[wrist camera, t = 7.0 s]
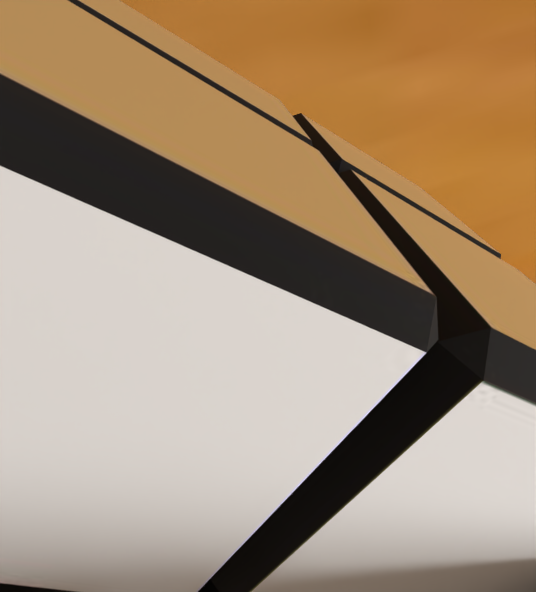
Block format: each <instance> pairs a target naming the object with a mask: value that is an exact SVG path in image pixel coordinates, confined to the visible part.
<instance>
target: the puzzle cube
mask: <svg viewBox="0 0 536 592" xmlns="http://www.w3.org/2000/svg"><path fill="white" fill-rule="evenodd" d="M0 592H536V284H535V283H533V282H532V281H531V280H530V279H529V278H527V277H526V276H525V275H524V274H523V273H521V272H520V271H519V270H518V269H516V268H514V267H513V266H511V265H509V264H508V263H506V262H504V261H503V260H501V254H500V253H499V252H498V251H496V250H495V249H494V248H493V247H492V246H490V245H489V244H488V243H487V242H486V241H484V240H483V239H482V238H481V237H480V236H478V235H477V234H476V233H475V232H473V231H472V230H471V229H470V228H469V227H467V226H466V225H465V224H464V223H463V222H461V221H460V220H459V219H458V218H457V217H455V216H454V215H453V214H452V213H450V212H449V211H448V210H447V209H446V208H444V207H443V206H442V205H441V204H440V203H438V202H437V201H436V200H435V199H434V198H432V197H431V196H430V195H429V194H427V193H426V192H425V191H424V190H423V189H421V188H420V187H419V186H417V185H416V184H414V183H412V182H411V181H409V180H408V179H406V178H404V177H403V176H401V175H400V174H398V173H396V172H395V171H393V170H391V169H390V168H388V167H387V166H385V165H383V164H382V163H380V162H379V161H377V160H375V159H374V158H372V157H371V156H369V155H367V154H366V153H364V152H362V151H361V150H359V149H358V148H356V147H354V146H353V145H351V144H350V143H348V142H346V141H345V140H343V139H342V138H340V137H338V136H337V135H335V134H334V133H332V132H330V131H329V130H327V129H325V128H324V127H322V126H321V125H319V124H317V123H316V122H314V121H313V120H311V119H309V118H308V117H306V116H305V115H303V114H301V113H300V114H297V115H294V116H292V115H291V114H290V112H289V111H288V110H287V109H286V107H285V106H284V105H283V104H282V102H281V101H280V100H279V99H277V98H276V97H274V96H273V95H271V94H269V93H268V92H266V91H264V90H263V89H261V88H260V87H258V86H256V85H255V84H253V83H252V82H250V81H248V80H247V79H245V78H244V77H242V76H240V75H239V74H237V73H236V72H234V71H232V70H231V69H229V68H227V67H226V66H224V65H223V64H221V63H219V62H218V61H216V60H215V59H213V58H211V57H210V56H208V55H207V54H205V53H203V52H202V51H200V50H199V49H197V48H195V47H194V46H192V45H190V44H189V43H187V42H186V41H184V40H182V39H181V38H179V37H178V36H176V35H174V34H173V33H171V32H170V31H168V30H166V29H165V28H163V27H162V26H160V25H158V24H157V23H155V22H153V21H152V20H150V19H149V18H147V17H145V16H144V15H142V14H141V13H139V12H137V11H136V10H134V9H133V8H131V7H129V6H128V5H126V4H125V3H123V2H121V1H120V0H0Z"/></svg>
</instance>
